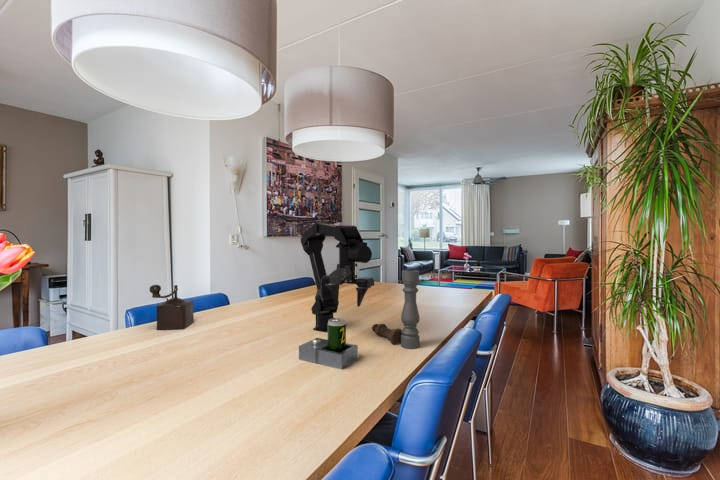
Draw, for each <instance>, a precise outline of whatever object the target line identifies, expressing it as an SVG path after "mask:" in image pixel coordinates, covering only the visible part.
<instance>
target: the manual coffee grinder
mask: <svg viewBox="0 0 720 480" xmlns="http://www.w3.org/2000/svg"><path fill="white" fill-rule="evenodd" d="M173 288H174V289H173V291H172V292H171V293H169V294H166V295H161V293H160V292H161V291H162V286H161V285H158V284H152V285H151V286H150V287H149V293H151V294H152V296H151V298H152V299H153V298H154V299H155V298H156V299H165V301H163V302H161V304H158V305H156V330H157V331H175V330H176V331H179V330H185V329H187V328H188V327H190V326H191V325H192V324H193V323H194V322H195V320H194V319H195V318H194V317H195V316H194V309H195V308H194V303H195V302H194V300H184V299H183V298H180V297H178V290H179V289H178V285H177V284H174V285H173ZM172 296H174V297H172ZM169 297H171V298H170V299H169Z"/></svg>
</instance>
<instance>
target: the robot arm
mask: <svg viewBox="0 0 720 480" xmlns="http://www.w3.org/2000/svg"><path fill="white" fill-rule="evenodd" d="M327 236H331V237H333V238H334V240H336V241H337V242H338V243H337V244H336V245H335V248H337V249H338V263H337V264H336V268H335V270H333V271H332V272H331V273H330V274H327V270H326V266H325V263H324V258H323V255H322V251H323V248H324V242H325V240H326V237H327ZM300 244H301V247H302V250H303V251H304V252H305V253H306V255H307V256H309V260H310V265H311V268H312V273H313V278H314V282H315V286H316V289H317V290H316V293H315V296H314V300H315V301H314V303H313V306H312V307H311V314H312V315H315V327H313V328H312V330H315V331H319V332H324V333H328V320H329V319H332V318H335V317H334V314H336V313H337V311H338V307H339V302H340V301H339V297H340V296H339V295H340V286H342V285H343V284H351V285H356V286H357V287H355V290H356V293H357V296H356V306H357V308H359V307H361V305H362V302H363V300H364V298H365V295H366V293H367V292H368V290H369V289H371V288H372V287H374V286H375V280H374V278H373V277H369V276H363V277H358V274H356V267H358V263H363V264H367V263H369V262H370V261H371V260H372V256H373V252H372V250H371V248H370V247H369V246H368V242H364V239H363V238H362V236H361V234H360V231H359V229H358V227H357V225H355V224H354V225H350V224H349V225H344V224H343V225H341V224H340V225H336V224H328V223H327V222H314V223H313V224H312V226H311V227H309V228H308V229H306V230H305V231H304V233H303V234H302V236H301V238H300Z"/></svg>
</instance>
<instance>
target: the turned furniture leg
mask: <svg viewBox="0 0 720 480" xmlns="http://www.w3.org/2000/svg"><path fill="white" fill-rule="evenodd" d="M401 281H402V284H403V286H404V287H402V292H403V294H404V303H403V308H402V312H401V315H400V320H401V323H402V324H403V328H402V329H401V330H402V335H401V344H400V347H401V348H403V349H405V350H406V349H407V350H417V349H419V348H420V335H419V334H420V331H419V330H418V328H417V327H418V324H419V322H420V314H419V308H418V305H417V304H418V303H417V294H418V292H419V289H418V287H417V286H418V284H419V282H420V271H419V270H416V269H403V270H401Z"/></svg>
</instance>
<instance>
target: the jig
mask: <svg viewBox="0 0 720 480" xmlns="http://www.w3.org/2000/svg"><path fill="white" fill-rule="evenodd" d="M358 351H359V346H358V345H357V344H352V343H348V342H346V350H344V351H343V352H341V353H339V352H334V351H329V350H328V339H327V338H326V339H325V338H321V337H320V338H319V337H316V338H313V339H311V340H309V341H307V342H305V343H303V344H299V346H298V360H299V361H305V362H310V363H313V364H317V365H322V366H326V367H329V368H334V369H337V370H343V369H345V368H346V367H347V366H349V365H351V364H352V363H353V362H355V361H356V360H358V359H359V357H358V356H359V352H358Z"/></svg>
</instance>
